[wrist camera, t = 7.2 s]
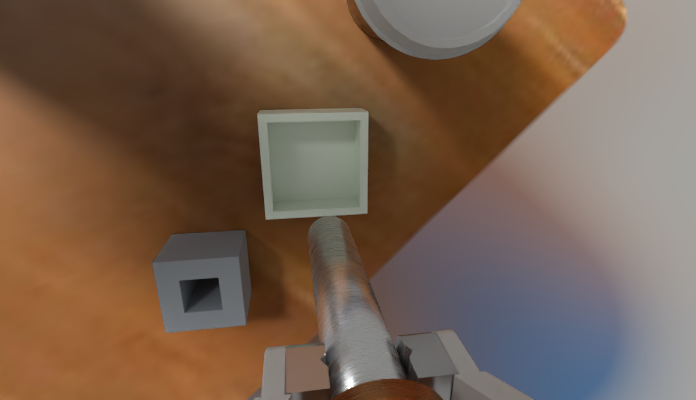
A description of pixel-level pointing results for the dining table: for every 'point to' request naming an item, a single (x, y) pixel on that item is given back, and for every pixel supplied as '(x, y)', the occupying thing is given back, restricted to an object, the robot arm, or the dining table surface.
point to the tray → (314, 162)
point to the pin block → (203, 280)
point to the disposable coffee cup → (432, 24)
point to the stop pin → (354, 322)
